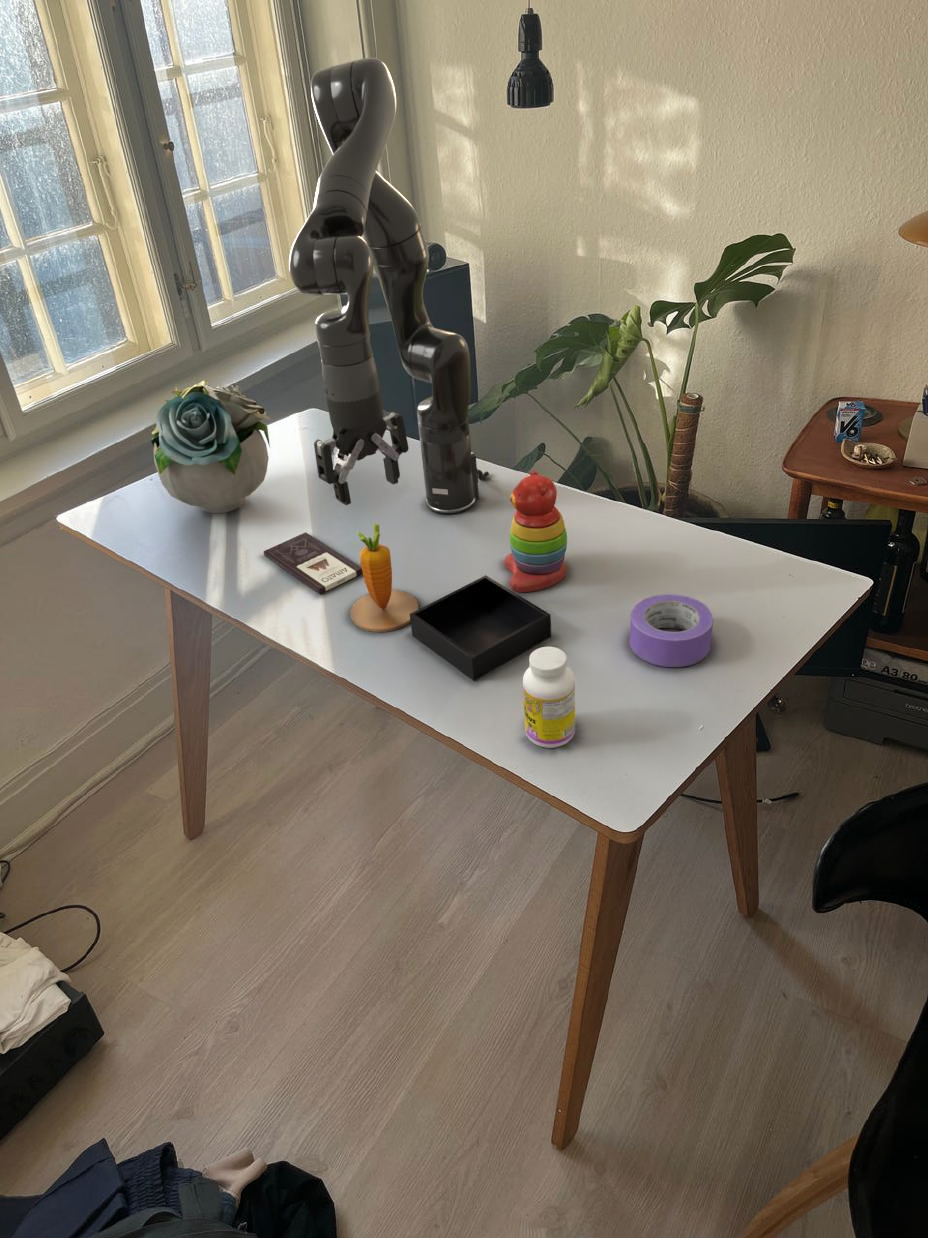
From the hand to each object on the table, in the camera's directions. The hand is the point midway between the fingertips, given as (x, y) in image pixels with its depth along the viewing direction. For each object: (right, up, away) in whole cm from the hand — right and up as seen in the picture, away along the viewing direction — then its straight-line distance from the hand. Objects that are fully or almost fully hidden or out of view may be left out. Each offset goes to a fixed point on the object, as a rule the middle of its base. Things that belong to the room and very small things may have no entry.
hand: (369, 492), depth 136 cm
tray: (+17, -21, +5) cm, 28 cm away
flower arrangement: (-34, +4, +47) cm, 58 cm away
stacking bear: (+26, -11, +18) cm, 34 cm away
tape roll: (+45, -23, 0) cm, 50 cm away
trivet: (+1, -18, +12) cm, 21 cm away
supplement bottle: (+26, -34, -14) cm, 45 cm away
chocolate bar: (-13, -9, +25) cm, 30 cm away
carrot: (+1, -17, +12) cm, 21 cm away
